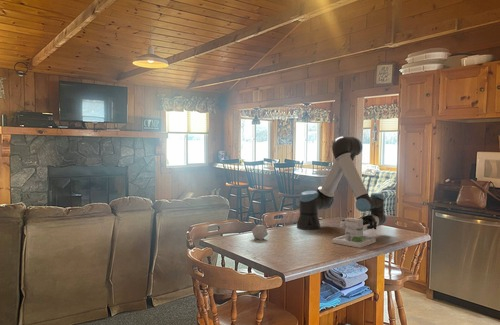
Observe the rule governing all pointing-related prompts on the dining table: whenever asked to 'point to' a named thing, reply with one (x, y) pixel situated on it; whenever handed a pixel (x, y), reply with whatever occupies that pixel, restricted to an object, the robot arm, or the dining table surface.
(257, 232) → the die
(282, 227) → the dining table surface
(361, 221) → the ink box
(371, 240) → the pin tray
